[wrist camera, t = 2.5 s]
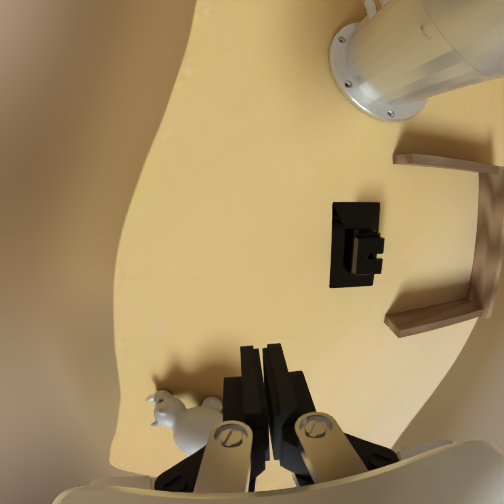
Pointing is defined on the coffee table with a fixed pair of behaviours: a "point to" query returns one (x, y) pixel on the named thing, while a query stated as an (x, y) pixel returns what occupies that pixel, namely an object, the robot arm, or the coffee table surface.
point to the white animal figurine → (186, 419)
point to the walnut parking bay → (485, 258)
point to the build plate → (355, 244)
